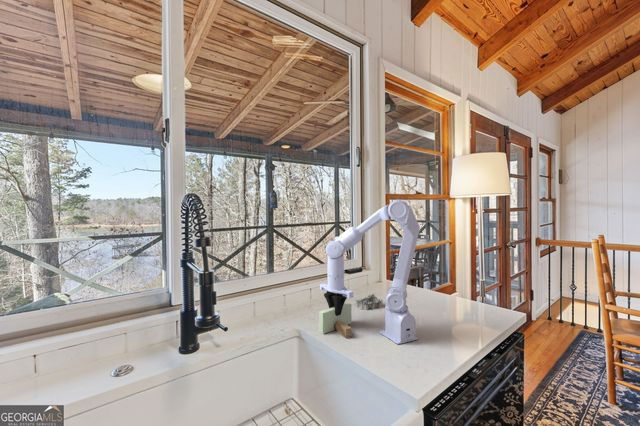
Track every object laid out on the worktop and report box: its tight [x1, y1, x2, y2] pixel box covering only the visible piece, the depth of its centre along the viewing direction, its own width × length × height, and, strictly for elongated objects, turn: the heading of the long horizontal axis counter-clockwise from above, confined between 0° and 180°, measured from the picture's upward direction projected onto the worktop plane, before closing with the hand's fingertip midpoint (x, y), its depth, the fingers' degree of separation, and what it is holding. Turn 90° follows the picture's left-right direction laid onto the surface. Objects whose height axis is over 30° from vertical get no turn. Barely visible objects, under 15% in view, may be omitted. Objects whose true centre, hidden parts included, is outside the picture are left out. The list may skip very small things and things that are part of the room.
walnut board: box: [334, 320, 353, 339], centre depth 102 cm, size 18×2×3 cm, turn 25°
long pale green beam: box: [318, 302, 352, 335], centre depth 102 cm, size 14×2×7 cm, turn 132°
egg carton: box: [354, 293, 383, 311], centre depth 125 cm, size 11×8×4 cm
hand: (335, 314), depth 102 cm, fingers closed on long pale green beam, 2 cm apart
